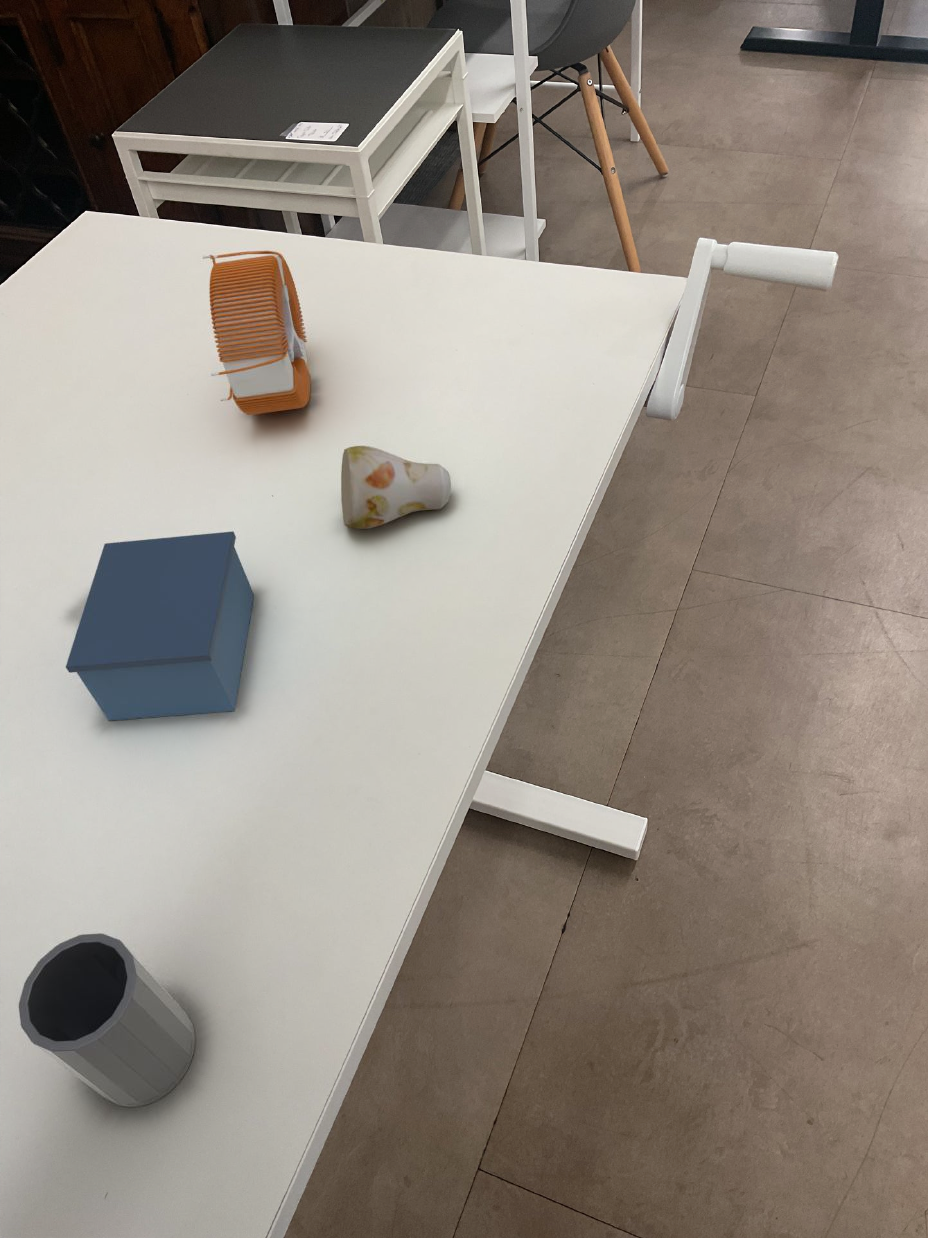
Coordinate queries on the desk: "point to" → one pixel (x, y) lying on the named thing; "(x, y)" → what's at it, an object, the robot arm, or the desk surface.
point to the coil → (259, 332)
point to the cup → (107, 1020)
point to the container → (164, 627)
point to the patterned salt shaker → (388, 487)
